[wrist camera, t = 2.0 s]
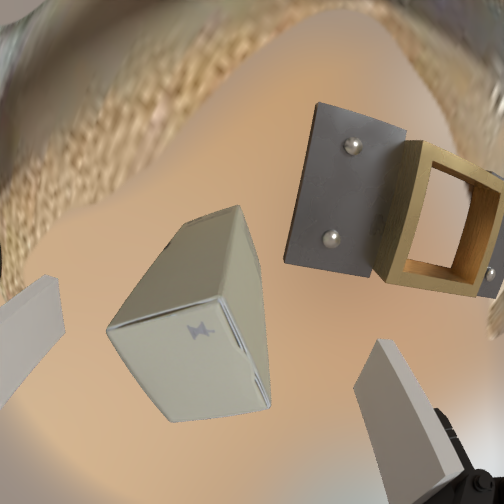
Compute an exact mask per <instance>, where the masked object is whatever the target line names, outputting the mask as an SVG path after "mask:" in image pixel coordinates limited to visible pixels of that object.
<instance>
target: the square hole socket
mask: <svg viewBox="0 0 504 504" xmlns="http://www.w3.org/2000/svg"><path fill="white" fill-rule="evenodd" d="M406 132H407V131H406V130H404V129H402V128H399V127H396V126H394V125H391V124H388V123H386V122H383V121H380V120H377V119H374V118H371V117H368V116H365V115H362V114H359V113H356V112H353V111H349V110H346V109H342V108H339V107H336V106H332V105H328V104H325V103H321V102H318V103H317V104H316V105H315V110H314V115H313V120H312V126H311V131H310V136H309V141H308V146H307V151H306V156H305V161H304V166H303V170H302V176H301V180H300V185H299V189H298V194H297V199H296V204H295V208H294V213H293V217H292V222H291V226H290V231H289V235H288V239H287V244H286V248H285V252H284V256H283V260H284V263H286V264H292V265H297V266H303V267H309V268H315V269H321V270H327V271H332V272H338V273H344V274H350V275H355V276H362V277H367V278H369V277H370V274H371V271H372V269H373V270H374V271H375V272H376V273H377V274H378V275H379V276H380V277H381V279H382V280H383V281H384V282H385V283H389V284H395V285H401V286H407V287H413V288H419V289H425V290H431V291H438V292H444V293H450V294H456V295H463V296H469V297H476V296H481V297H487V298H493V299H496V297H497V294H498V292H499V290H500V287H501V285H502V282H503V279H504V178H502V177H500V176H499V175H497V174H495V173H494V172H491V171H486V170H484V169H482V168H480V167H478V166H476V165H474V164H472V163H470V162H468V161H466V160H465V159H463V158H461V157H458V156H456V155H454V154H452V153H450V152H448V151H446V150H444V149H442V148H439V147H437V146H435V145H433V144H430V143H428V142H426V141H423V140H422V141H421V140H412V141H411V140H410V141H409V140H407V141H405V137H406ZM431 167H433V168H435V169H438V170H440V171H442V172H445V173H447V174H449V175H452V176H454V177H456V178H458V179H461V180H463V181H465V182H467V183H469V184H471V185H474V190H473V195H472V199H471V203H470V207H469V211H468V215H467V219H466V222H465V226H464V229H463V233H462V236H461V239H460V243H459V246H458V249H457V252H456V255H455V258H454V261H453V264H452V266H451V268H447V267H442V266H438V265H433V264H429V263H424V262H420V261H415V260H411V259H407V257H408V254H409V251H410V247H411V244H412V241H413V238H414V234H415V231H416V228H417V224H418V221H419V217H420V213H421V209H422V205H423V202H424V198H425V193H426V189H427V185H428V181H429V176H430V171H431Z"/></svg>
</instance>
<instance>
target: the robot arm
mask: <svg viewBox="0 0 504 504" xmlns="http://www.w3.org/2000/svg"><path fill="white" fill-rule="evenodd" d="M0 276H1V247H0ZM64 334H65V327H64V321H63V315H62V308H61V301H60V293H59V284H58V278H55V277H52V276H49V275H43V276H42V277H41V278H39V279H38V280H37V281H35V282H34V283H32V284H31V285H29V286H28V287H27V288H25V289H24V290H22V291H21V292H20V293H18V294H17V295H16V296H14V297H13V298H12V299H10V300H9V301H8V302H6V303H5V304H4V305H3V306H1V307H0V410H1V409H2V407H3V406H4V405H5V403H6V402H7V401H8V400H9V398H10V397H11V396H12V395H13V393H14V392H15V391H16V389H17V388H18V387H19V386H20V385H21V383H22V382H23V381H24V379H25V378H26V377H27V376H28V374H30V372H31V371H32V370H33V369H34V368H35V366H36V365H37V364H38V363H39V362H40V360H41V359H42V358H43V357H44V356H45V355H46V354H47V352H48V351H49V350H50V349H51V348H52V347H53V346H54V345H55V343H56V342H57V341H58V340H59V339H60V338H61V337H62V336H63V335H64ZM353 389H354V392H355V395H356V398H357V401H358V403H359V407H360V410H361V413H362V416H363V419H364V422H365V425H366V428H367V431H368V434H369V437H370V441H371V444H372V447H373V450H374V453H375V457H376V460H377V463H378V466H379V470H380V473H381V477H382V480H383V484H384V487H385V491H386V494H387V497H388V502H389V504H504V477H494V478H493V477H492V476H491V475H490V473H489V472H487V471H485V470H483V469H476V470H475V469H474V468H473V466H472V464H471V462H470V460H469V458H468V456H467V454H466V452H465V450H464V448H463V446H462V444H461V442H460V441H459V438H457V435H456V433H455V431H454V430H452V426H451V424H450V422H449V420H448V418H447V417H446V416H445V415H444V414H443V413H442V412H441V411H440V410H439V409H438V408H433V407H432V405H431V404H430V402H429V400H428V398H427V396H426V395H425V393H424V391H423V390H422V388H421V386H420V384H419V383H418V381H417V379H416V378H415V376H414V374H413V372H412V371H411V369H410V367H409V366H408V364H407V362H406V361H405V359H404V357H403V356H402V354H401V352H400V351H399V349H398V348H397V346H396V344H395V343H394V341H393V340H388V339H377V340H376V343H375V345H374V347H373V349H372V351H371V353H370V355H369V358H368V360H367V362H366V364H365V366H364V368H363V370H362V372H361V374H360V376H359V377H358V379H357V381H356V383H355V385H354V387H353Z"/></svg>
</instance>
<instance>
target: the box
mask: <svg viewBox="0 0 504 504" xmlns="http://www.w3.org/2000/svg"><path fill="white" fill-rule="evenodd" d="M106 333H107V336H108V337H109V339H110V341H111V343H112V344H113V346H114V347H115V349H116V351H117V352H118V354H119V356H120V357H121V359H122V360H123V362H124V363H125V365H126V366H127V368H128V369H129V371H130V372H131V374H132V375H133V376H134V378H135V379H136V381H137V382H138V383H139V385H140V386H141V388H142V389H143V390H144V392H145V393H146V394H147V396H148V397H149V398H150V399H151V401H152V402H153V403H154V404H155V405H156V407H157V408H158V409H159V410H160V411H161V413H162V414H163V415H164V416H165V417H166V418H167V419H168V421H170V422H184V421H191V420H192V421H194V420H204V419H211V418H219V417H227V416H233V415H239V414H244V413H251V412H256V411H261V410H265V409H269V408H270V407H271V389H270V374H269V360H268V348H267V338H266V325H265V314H264V302H263V292H262V281H261V268H260V263H259V259H258V256H257V253H256V250H255V247H254V244H253V241H252V238H251V235H250V232H249V229H248V226H247V223H246V221H245V217H244V215H243V212H242V210H241V207H240V205H235V206H232V207H229V208H226V209H223V210H220V211H217V212H214V213H211V214H208V215H206V216H203V217H200V218H197V219H194V220H192V221H189V222H187V223H185V224H183V226H182V227H181V228H180V229H179V231H178V232H177V233H176V234H175V236H174V237H173V238H172V239H171V241H170V242H169V243H168V245H167V246H166V247H165V248H164V250H163V251H162V252H161V254H160V255H159V256H158V257H157V259H156V260H155V261H154V263H153V264H152V265H151V267H150V268H149V269H148V271H147V272H146V273H145V275H144V276H143V277H142V279H141V280H140V281H139V283H138V284H137V286H136V287H135V288H134V289H133V291H132V292H131V294H130V295H129V297H128V298H127V299H126V301H125V302H124V304H123V305H122V306H121V308H120V309H119V311H118V312H117V314H116V315H115V317H114V318H113V319H112V321H111V322H110V324H109V325H108V327H107V329H106Z"/></svg>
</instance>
